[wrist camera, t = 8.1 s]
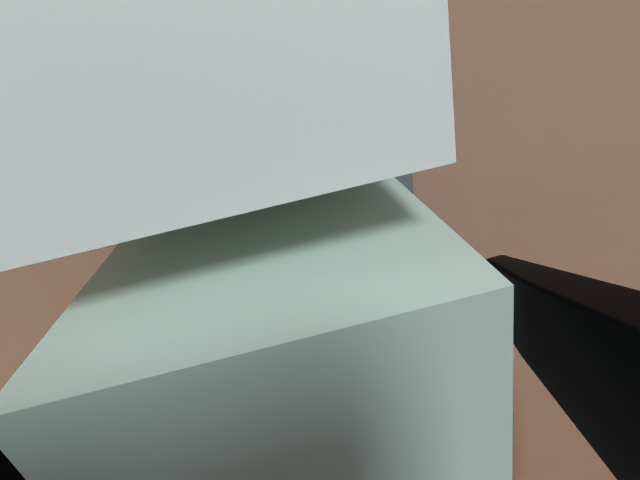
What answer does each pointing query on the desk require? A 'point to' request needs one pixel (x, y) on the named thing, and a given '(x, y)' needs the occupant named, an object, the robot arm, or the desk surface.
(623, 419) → the robot arm
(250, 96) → the rail board
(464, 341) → the block
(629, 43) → the desk surface
